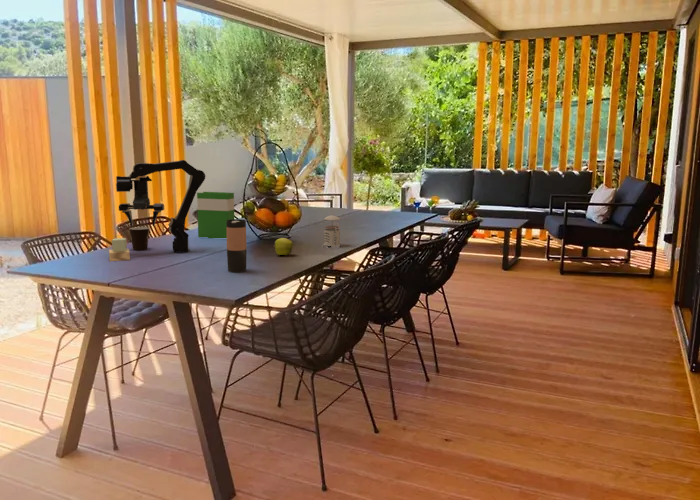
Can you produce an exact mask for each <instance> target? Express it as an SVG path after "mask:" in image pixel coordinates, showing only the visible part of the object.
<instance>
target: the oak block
mask: <svg viewBox="0 0 700 500" xmlns="http://www.w3.org/2000/svg"><path fill="white" fill-rule="evenodd" d="M108 252H109V254H108V255H109V256H108V257H109V262H121V261H123V262H125V261H131V256H130V252H131V251H130V249H129V248H127V250H126V251H124V252H113V250H112V249H108Z"/></svg>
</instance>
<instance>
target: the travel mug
mask: <svg viewBox="0 0 700 500" xmlns="http://www.w3.org/2000/svg"><path fill="white" fill-rule="evenodd" d="M226 224H227V239H226V259H227V260H226V261H227V271H228V272H230V273H243V272H246V271H247V249H248V247H247V220H246V219H238V218H237V219H235V218H234V219H232V220H227V221H226Z"/></svg>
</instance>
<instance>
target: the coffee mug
mask: <svg viewBox="0 0 700 500" xmlns="http://www.w3.org/2000/svg"><path fill="white" fill-rule="evenodd" d="M149 233H150V228H149V227H147V226H137V227H129V235H130V240H131V246H132V251H138V252H139V251H146V250H148V247H149Z"/></svg>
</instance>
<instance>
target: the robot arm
mask: <svg viewBox="0 0 700 500" xmlns="http://www.w3.org/2000/svg"><path fill="white" fill-rule="evenodd" d="M175 170H182V171H184V172H185V173H186V174H187V175H189V181H188V188H187V190H186V191H185V195H184V197H183V199H182V202H181V204H180V208H179V209H178V212H177V214H176V216H174V217H173V216H171V218H170V222H169V223H168V225H167V226H168V230H169V232H170V234H172V235H173V236H174V237H173V241H172V252H173V253H189V251H190V249H189V248H190V246H189V236H190V234H188V233H187V232H186V231H185V226H186V219H187V216H188V213H189V211H190V208H191V206H192V203H193V202H194V199H195V196H196V195H197V193H198V192H197V191H198V190H199V188H200V187H201V186H202V185H203V183H204V181H205V179H206V173H205V172H204V171H203V170H200V169H197V168H195V167H194V166H193V165H191V164H190V163H189V162H188V161H186V160H185V159H181V160H175V161H167V162H165V161H164V162H157V163H148V162H137V163H135V164H134V165H133V167H132V171H131V173H130V174H129V175H128V176H120V175H116V178H115V181H116V182H115V189H116V193H119V192H120V193H122V192H123V193H125V192H128V193H129V192H131V191H132V190H133V194H134V198H133V200H132V204H131V203H129V202H128V203H127V202H126V203H124V202H123V203H120V204H119V205H118V211H119V212H120V211H121V213H124V215H126V218H127V219H128V221H129V225H130V226H131V227H133V225H134V224H133V223H134V222H133V213H132V210H153V211H152V227H154V226H155V225H156V220H157V219H158V218H157V217H158V216H159V213H161V212H162V211H165V204H164V203H161V202H160V203H159V202H158V203H157V202H155V203H154V204H151V201H150V198H149V189H148V188H149V187H148V186H149V185H148V182H152V181H153V179H151V177H149V175H151V174H154V173H158V172H165V171H175ZM137 178H138V179H137Z"/></svg>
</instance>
